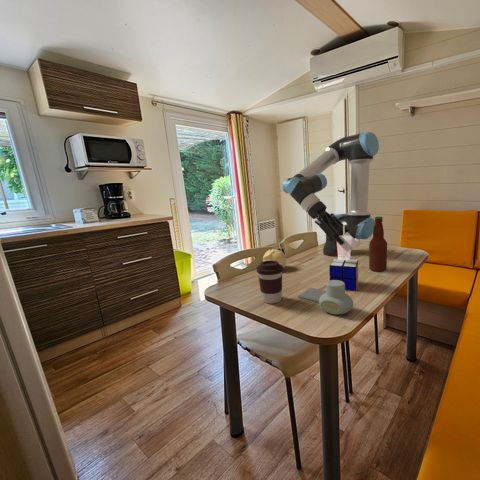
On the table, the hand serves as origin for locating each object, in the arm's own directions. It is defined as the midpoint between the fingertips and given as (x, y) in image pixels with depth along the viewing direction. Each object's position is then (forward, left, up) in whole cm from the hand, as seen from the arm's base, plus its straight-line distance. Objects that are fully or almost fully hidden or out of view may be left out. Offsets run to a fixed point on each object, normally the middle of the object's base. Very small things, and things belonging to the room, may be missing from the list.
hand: (353, 247), depth 103 cm
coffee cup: (+31, -16, -17) cm, 38 cm away
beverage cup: (+1, -4, -5) cm, 6 cm away
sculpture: (+4, -42, -17) cm, 45 cm away
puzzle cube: (+1, -4, -17) cm, 17 cm away
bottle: (-25, -3, -17) cm, 30 cm away
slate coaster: (+17, -6, -16) cm, 24 cm away
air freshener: (+22, +6, -17) cm, 28 cm away
